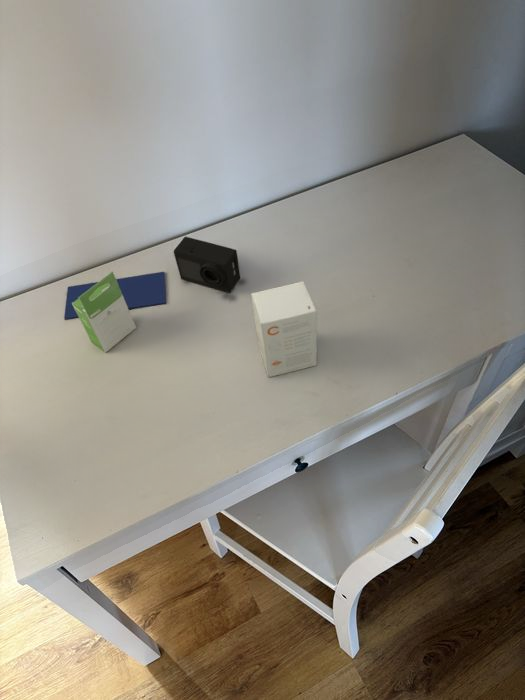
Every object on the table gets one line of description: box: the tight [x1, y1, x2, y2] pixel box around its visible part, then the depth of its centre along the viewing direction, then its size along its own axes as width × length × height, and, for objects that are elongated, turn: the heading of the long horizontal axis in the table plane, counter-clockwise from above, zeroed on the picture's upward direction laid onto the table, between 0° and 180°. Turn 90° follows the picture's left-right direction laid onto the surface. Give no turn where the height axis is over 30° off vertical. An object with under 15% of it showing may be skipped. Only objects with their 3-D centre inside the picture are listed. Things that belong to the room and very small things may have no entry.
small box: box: [251, 280, 318, 378], centre depth 81 cm, size 8×6×13 cm
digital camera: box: [173, 236, 241, 294], centre depth 95 cm, size 10×5×7 cm, turn 65°
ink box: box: [72, 271, 137, 353], centre depth 86 cm, size 7×4×13 cm, turn 139°
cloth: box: [63, 271, 167, 321], centre depth 97 cm, size 18×8×1 cm, turn 98°
